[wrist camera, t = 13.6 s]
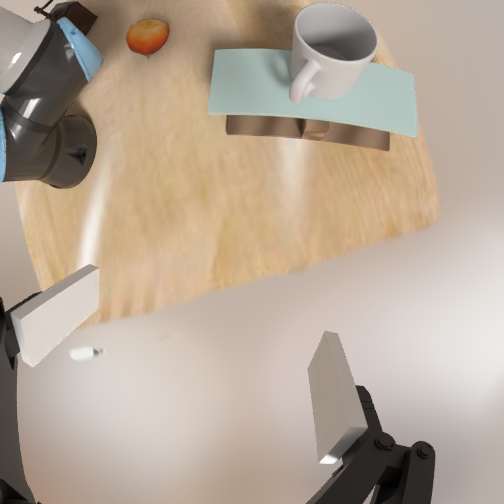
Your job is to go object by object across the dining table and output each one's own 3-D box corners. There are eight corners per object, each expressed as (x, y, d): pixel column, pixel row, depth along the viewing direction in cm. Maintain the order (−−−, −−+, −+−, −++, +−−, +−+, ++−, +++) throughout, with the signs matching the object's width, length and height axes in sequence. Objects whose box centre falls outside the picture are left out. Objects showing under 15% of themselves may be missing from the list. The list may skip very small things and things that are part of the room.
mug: (310, 38, 27) (319, -9, 17) (364, 71, 28) (392, 31, 17) (262, 97, 30) (254, 57, 19) (320, 133, 30) (338, 106, 20)
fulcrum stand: (227, 134, 40) (217, 122, 32) (233, 70, 38) (224, 48, 30) (387, 151, 38) (408, 143, 30) (385, 87, 36) (403, 69, 28)
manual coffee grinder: (75, 51, 38) (27, 25, 21) (54, 48, 38) (9, 27, 20) (112, 1, 35) (74, -34, 17) (87, 2, 34) (50, -27, 17)
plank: (210, 115, 32) (207, 112, 31) (217, 53, 30) (215, 49, 29) (414, 137, 30) (418, 136, 29) (410, 76, 28) (413, 73, 27)
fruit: (119, 56, 37) (117, 25, 29) (150, 39, 39) (152, 10, 32) (143, 70, 37) (143, 37, 30) (176, 52, 40) (179, 21, 32)
